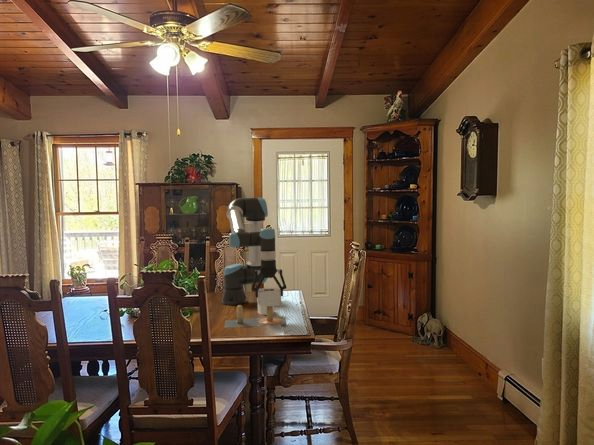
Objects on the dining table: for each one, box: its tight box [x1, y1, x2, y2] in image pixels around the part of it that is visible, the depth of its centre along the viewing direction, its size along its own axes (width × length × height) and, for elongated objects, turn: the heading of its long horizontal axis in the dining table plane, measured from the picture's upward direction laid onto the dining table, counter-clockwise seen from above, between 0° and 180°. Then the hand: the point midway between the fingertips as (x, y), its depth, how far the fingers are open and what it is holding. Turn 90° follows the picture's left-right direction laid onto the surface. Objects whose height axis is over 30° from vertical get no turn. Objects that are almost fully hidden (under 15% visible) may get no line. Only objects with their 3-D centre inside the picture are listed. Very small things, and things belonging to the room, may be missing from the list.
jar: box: [256, 298, 275, 316], centre depth 231 cm, size 9×8×12 cm
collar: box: [258, 287, 281, 307], centre depth 213 cm, size 10×10×7 cm
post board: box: [223, 304, 287, 329], centre depth 213 cm, size 30×14×10 cm, turn 96°
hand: (269, 303), depth 213 cm, fingers closed on collar, 10 cm apart
